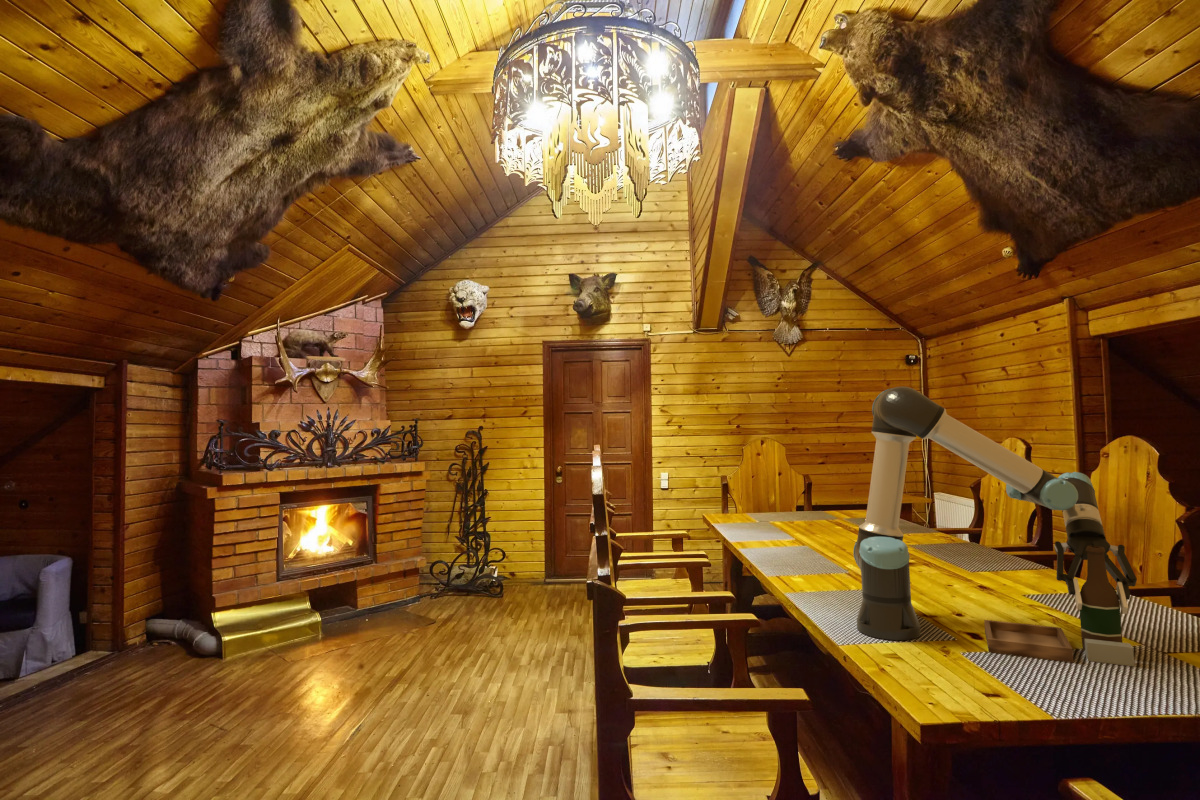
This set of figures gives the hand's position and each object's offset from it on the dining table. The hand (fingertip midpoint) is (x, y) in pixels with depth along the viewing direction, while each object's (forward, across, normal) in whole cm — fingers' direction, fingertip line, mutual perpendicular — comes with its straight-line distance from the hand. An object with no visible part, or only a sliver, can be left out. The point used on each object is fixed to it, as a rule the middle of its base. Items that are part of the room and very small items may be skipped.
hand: (1102, 608), depth 141 cm
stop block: (+10, 0, +5) cm, 11 cm away
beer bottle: (+5, 0, +10) cm, 11 cm away
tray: (+7, -15, +8) cm, 18 cm away
